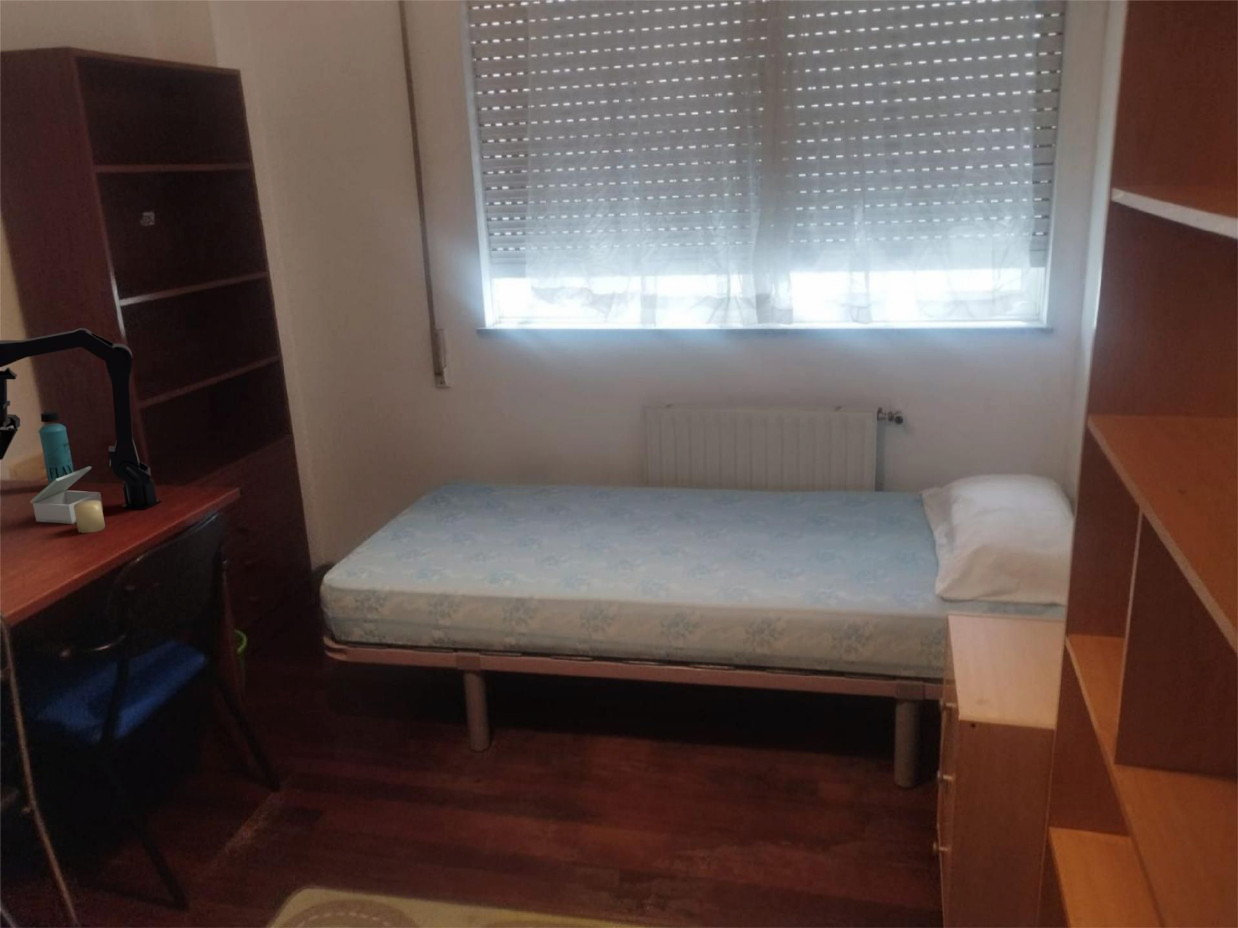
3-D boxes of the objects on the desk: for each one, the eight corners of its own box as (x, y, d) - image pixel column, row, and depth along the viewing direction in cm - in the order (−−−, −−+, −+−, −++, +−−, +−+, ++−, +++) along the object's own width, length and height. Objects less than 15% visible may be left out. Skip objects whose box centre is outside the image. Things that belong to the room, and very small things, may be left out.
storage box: (103, 510, 234) (100, 492, 232) (72, 523, 224) (68, 505, 223) (68, 507, 236) (65, 490, 234) (36, 521, 226) (32, 503, 225)
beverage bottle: (48, 491, 249) (33, 416, 243) (49, 484, 254) (35, 411, 249) (76, 487, 252) (63, 413, 246) (77, 481, 257) (63, 408, 252)
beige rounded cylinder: (110, 525, 223) (106, 501, 221) (93, 533, 218) (88, 508, 216) (90, 524, 224) (85, 499, 222) (72, 532, 219) (67, 507, 217)
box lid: (91, 467, 231) (90, 465, 231) (57, 481, 221) (55, 479, 221) (66, 489, 235) (64, 487, 235) (31, 503, 225) (29, 501, 225)
